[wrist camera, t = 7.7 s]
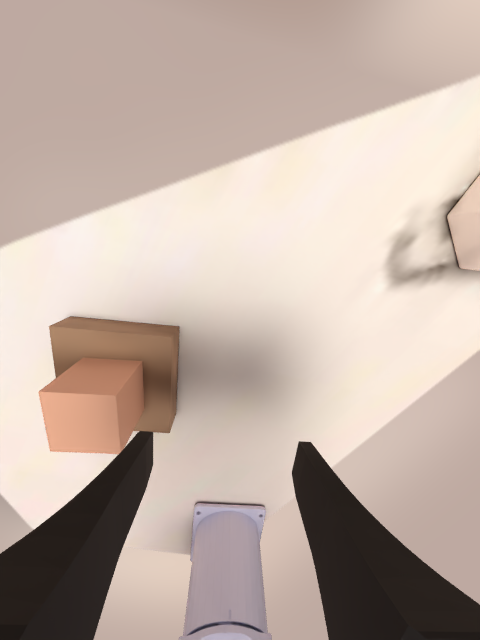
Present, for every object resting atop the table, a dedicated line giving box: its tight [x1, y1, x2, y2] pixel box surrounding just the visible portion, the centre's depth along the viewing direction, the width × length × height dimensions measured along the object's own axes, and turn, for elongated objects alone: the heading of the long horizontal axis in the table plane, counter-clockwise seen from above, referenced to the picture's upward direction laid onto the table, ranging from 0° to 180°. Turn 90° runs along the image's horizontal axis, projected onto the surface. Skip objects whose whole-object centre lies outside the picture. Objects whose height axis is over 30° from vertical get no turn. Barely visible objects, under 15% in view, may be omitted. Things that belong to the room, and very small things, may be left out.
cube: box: [39, 358, 144, 454], centre depth 17 cm, size 4×4×4 cm
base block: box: [49, 317, 179, 433], centre depth 21 cm, size 9×9×2 cm
